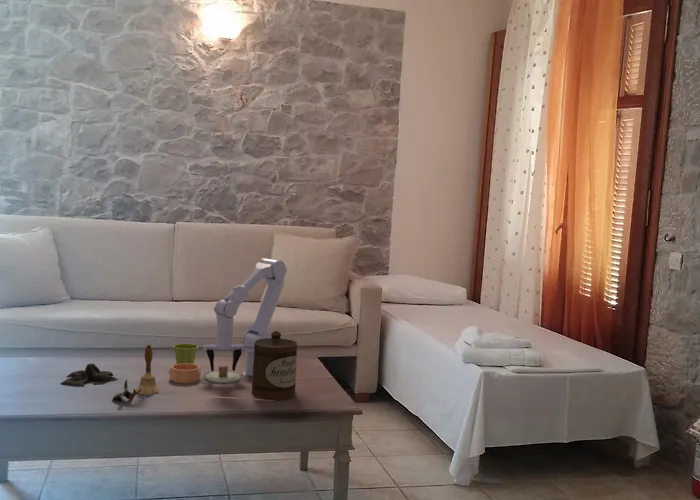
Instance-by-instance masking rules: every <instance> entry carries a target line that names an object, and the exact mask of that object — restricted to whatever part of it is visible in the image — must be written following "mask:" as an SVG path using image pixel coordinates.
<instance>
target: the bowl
mask: <svg viewBox="0 0 700 500" xmlns="http://www.w3.org/2000/svg"><path fill="white" fill-rule="evenodd" d="M201 370H202V366H201V365H198V364H196V363H194V364H187V363H181V364H176V363H175V364H172V365H171V366H170V367H169V380H170V381H172V382H174V383H180V384H181V383H183V384H190V383H195V382H197V383H198V382H199V381H200V380H201V375H202V374H201V373H202V372H201Z"/></svg>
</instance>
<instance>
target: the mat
mask: <svg viewBox="0 0 700 500" xmlns="http://www.w3.org/2000/svg"><path fill="white" fill-rule="evenodd" d="M209 373H210V372H205V373H204V374H203V376H202V377H201V378H200V379H199V381H197V384H204V385H205V384H206V385H207V384H208V385H220V386H221V385H224V386H239V387H240V386H241V385H242V384H243V382H244V380H245V379H246V377H247V375H243V374H241V373H237V374H238V375H240V380H239V381H237V382H234V383H213V382H209V381H207V380H206V379H205V378H206V375H207V374H209Z"/></svg>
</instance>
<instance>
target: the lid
mask: <svg viewBox="0 0 700 500" xmlns="http://www.w3.org/2000/svg"><path fill="white" fill-rule="evenodd" d="M228 370H229V366H228V365H219V366H218V371H212V372H208V373H209V374H207V375H206V378H205V379H206V380H207V381H209V382H213V383H234V382H237V381H239V380H240V375H238V374H239V373H235V372H232V371H228Z"/></svg>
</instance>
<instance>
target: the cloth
mask: <svg viewBox="0 0 700 500" xmlns="http://www.w3.org/2000/svg"><path fill="white" fill-rule="evenodd" d="M113 376H114V374H113V372H112V371H108V370H102V371H101V370H100V368H99V367H98V366H97V365H96V364H95V363H87V364H86V366H85V369H84V370H82V369H81V370H77V371H73V372H70V373H69V374H68V375H67V376H66V379H65V380H64V381H62V382H61V383H59V384H60V385H63V386H72V387H79V388H84V387H85V385H88V384H89V383H92V385H93V386H97V385H98V386H99V385H103V386H104V385H106V383H110V382H111V383H113V382H115V381H119V378H117V377H113Z"/></svg>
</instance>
